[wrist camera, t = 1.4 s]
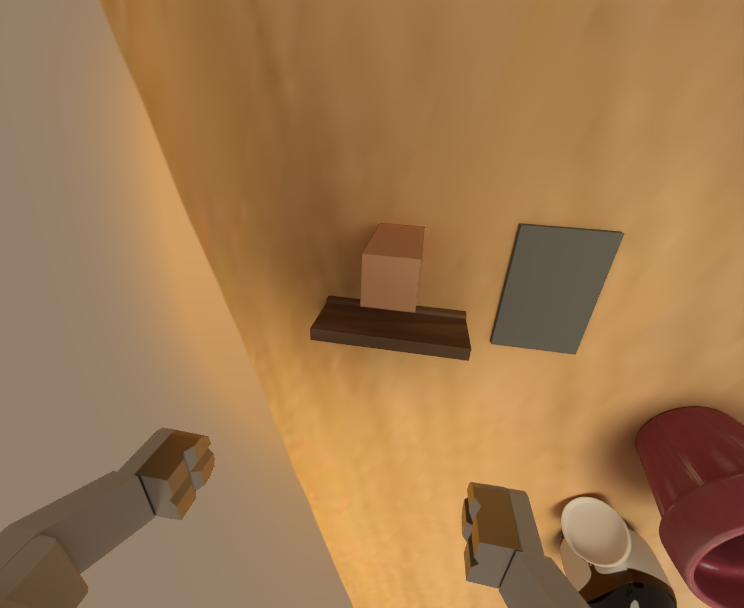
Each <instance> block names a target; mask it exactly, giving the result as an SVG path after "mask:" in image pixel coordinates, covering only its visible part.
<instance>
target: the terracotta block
mask: <svg viewBox="0 0 744 608" xmlns="http://www.w3.org/2000/svg"><path fill="white" fill-rule="evenodd" d="M424 228H425V227H419V226H408V225H396V224H384V223H381V224H380V225H379V227H378V228H377V230H376V232H375V233H374V235H373V237H372V238H371V240H370V242H369V243H368V245H367V247H366V248H365V250H364V252H363V253H362V272H361V302H360V306H363V307H371V308H380V309H388V310H397V311H405V312H414V313H415V310H416V302H417V294H418V285H419V277H420V269H421V261H422V250H423V239H424Z"/></svg>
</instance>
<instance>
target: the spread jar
mask: <svg viewBox="0 0 744 608" xmlns="http://www.w3.org/2000/svg"><path fill="white" fill-rule="evenodd" d="M561 527H562V532H563V536H562V539H561V544H560V554H561V559H562V564H563V568H564V571H565V574H566V577H567V579H568V580H569V581H570V582H571V584H572V585H573V586H574V587H575V589H576V590H577V591H578V592H579V594H580V595H581V596H582V597H583V599H584V600H585V601H586V603H587V604H588V605H589V606H590V608H677V601H676V598H675V594H674V591H673V589H672V587H671V584H670V582H669V580H668V578H667V576H666V574H665V572H664V571H663V569H662V567H661V565H660V563H659V561H658V559H657V558H656V556H655V554H654V552H653V551H652V549H651V548H650V546H649V545H648V543H647V542H646V541H645V540H644V539H643V538H642V537H641V536H640V535H639V534H638V533H637V532H635V531H634V530H633V529H631V528H630V527H628V526H627V525H626V523H625V522H624V520H623V519H622V518H621V516H620V515H619V514H618V513H617V512H616V511H615V510H614V509H613V508H612V507H611V506H609V505H608V504H606V503H605V502H603V501H601V500H599V499H596V498H592V497H579V498H575V499H573V500H571V501H570V502H569V503H568V504H567V505H566V506H565V508H564V509H563V512H562V516H561Z"/></svg>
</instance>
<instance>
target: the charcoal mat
mask: <svg viewBox="0 0 744 608" xmlns="http://www.w3.org/2000/svg"><path fill="white" fill-rule="evenodd" d="M623 235H624V233H622V232H619V231H607V230H595V229H582V228H570V227H558V226H545V225H533V224H521V223H520V225H519V229H518V233H517V237H516V241H515V245H514V249H513V253H512V257H511V261H510V265H509V269H508V272H507V276H506V280H505V284H504V288H503V292H502V296H501V300H500V304H499V308H498V312H497V316H496V320H495V324H494V328H493V332H492V336H491V340H490V341H491V344H496V345H504V346H512V347H520V348H528V349H536V350H544V351H552V352H560V353H568V354H576V352H577V350H578V347H579V345H580V342H581V340H582V337H583V335H584V332H585V330H586V327H587V325H588V322H589V320H590V317H591V315H592V312H593V310H594V307H595V305H596V302H597V300H598V297H599V295H600V292H601V290H602V288H603V285H604V283H605V280H606V278H607V275H608V273H609V270H610V268H611V265H612V263H613V260H614V258H615V255H616V253H617V250H618V248H619V245H620V243H621V240H622V238H623Z"/></svg>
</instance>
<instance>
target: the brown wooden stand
mask: <svg viewBox="0 0 744 608" xmlns="http://www.w3.org/2000/svg"><path fill="white" fill-rule="evenodd" d="M360 302H361V299H352V298H343V297H335V296H328V298H327V303H326V305H325V306H324V308H323V309H322V311H321V312H320V314H319V316H318V317H317V319H316V320H315V322H314V323H313V325H312V326H311V328H310V333H311V340H317V341H324V342H332V343H339V344H347V345H354V346H362V347H370V348H377V349H385V350H392V351H400V352H407V353H415V354H422V355H430V356H437V357H445V358H453V359H460V360H468V361H469V357H470V352H471V345H470V340H469V335H468V329H467V324H466V312H465V311H457V310H448V309H439V308H430V307H422V306H416V310H415V313H414V312H405V311H397V310H388V309H380V308H371V307H363V306H360Z"/></svg>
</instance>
